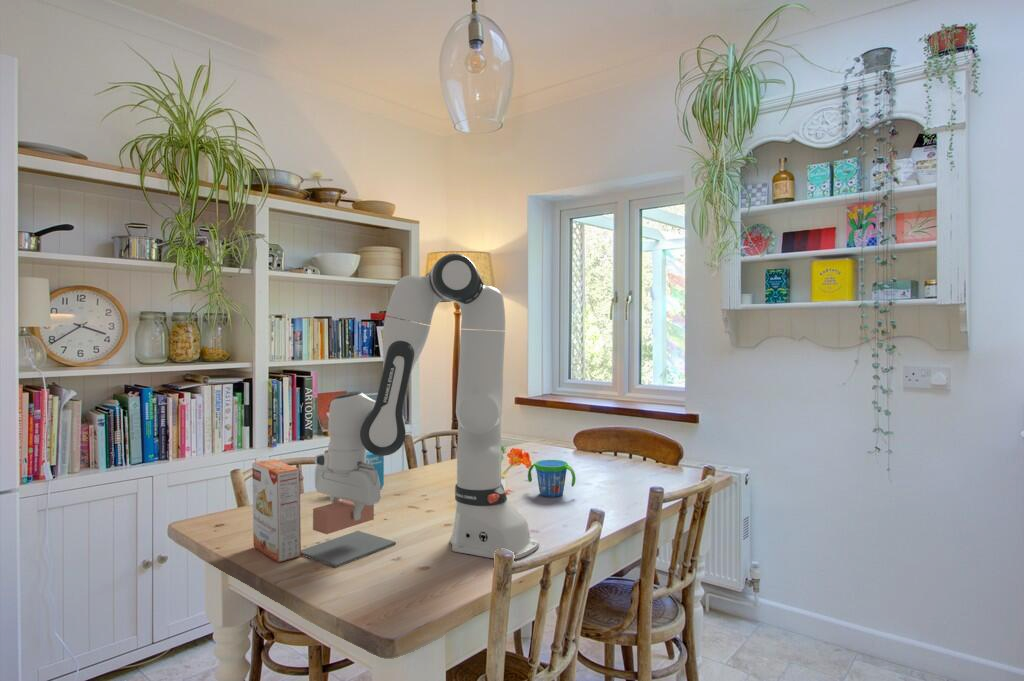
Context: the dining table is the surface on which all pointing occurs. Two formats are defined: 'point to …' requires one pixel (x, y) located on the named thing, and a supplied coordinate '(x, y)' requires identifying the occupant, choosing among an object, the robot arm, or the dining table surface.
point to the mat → (346, 548)
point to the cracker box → (276, 509)
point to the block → (339, 516)
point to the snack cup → (551, 476)
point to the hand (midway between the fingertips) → (346, 516)
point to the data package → (376, 465)
